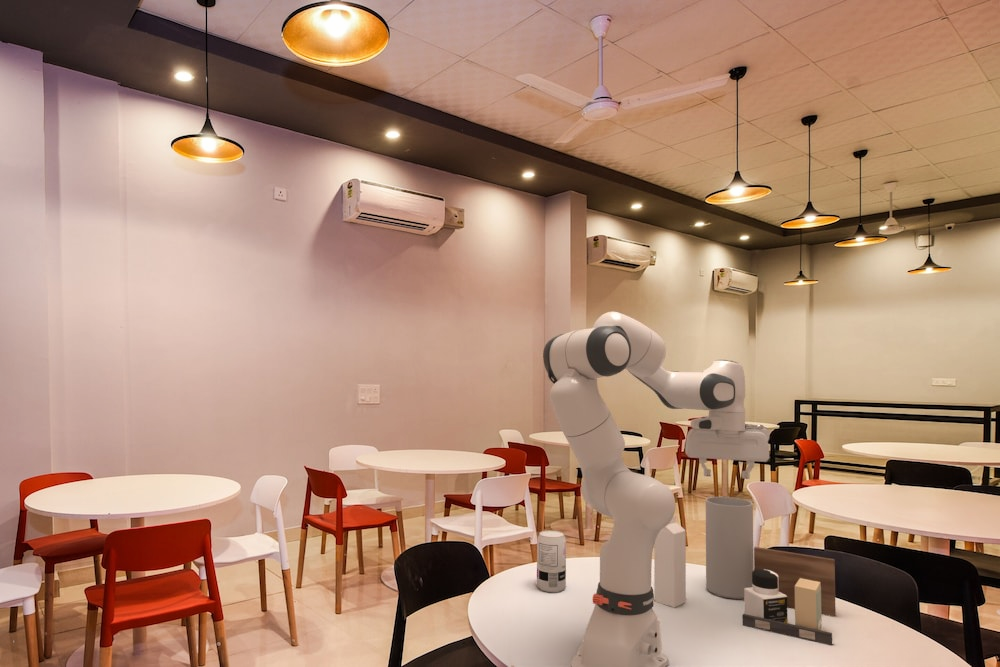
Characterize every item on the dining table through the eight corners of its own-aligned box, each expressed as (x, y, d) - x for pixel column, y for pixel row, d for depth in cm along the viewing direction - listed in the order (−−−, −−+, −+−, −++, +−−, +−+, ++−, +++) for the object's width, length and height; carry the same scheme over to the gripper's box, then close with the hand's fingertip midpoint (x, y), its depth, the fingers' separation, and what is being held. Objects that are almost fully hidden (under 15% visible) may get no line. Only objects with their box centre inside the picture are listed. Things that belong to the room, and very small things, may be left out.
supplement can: (531, 585, 168) (532, 531, 169) (556, 581, 171) (557, 528, 173) (545, 594, 161) (546, 538, 162) (571, 590, 164) (571, 535, 165)
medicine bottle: (764, 628, 142) (763, 577, 142) (743, 616, 148) (743, 567, 149) (788, 625, 144) (787, 575, 145) (767, 613, 151) (766, 565, 151)
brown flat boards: (832, 645, 133) (830, 582, 134) (742, 625, 143) (741, 566, 144) (835, 615, 150) (834, 559, 151) (755, 599, 160) (754, 546, 161)
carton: (822, 629, 142) (821, 582, 143) (817, 639, 136) (816, 590, 137) (800, 623, 145) (799, 578, 145) (795, 633, 139) (794, 585, 140)
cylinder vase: (757, 602, 158) (756, 507, 160) (708, 597, 161) (707, 504, 163) (750, 586, 170) (749, 498, 172) (704, 581, 173) (704, 495, 175)
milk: (685, 602, 157) (686, 518, 159) (673, 608, 153) (674, 521, 155) (665, 595, 162) (666, 514, 163) (653, 601, 158) (654, 517, 159)
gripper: (766, 424, 154) (765, 478, 153) (684, 420, 157) (684, 472, 156) (772, 426, 147) (772, 482, 146) (688, 421, 151) (687, 476, 150)
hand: (726, 477), depth 151 cm, fingers open, 8 cm apart
